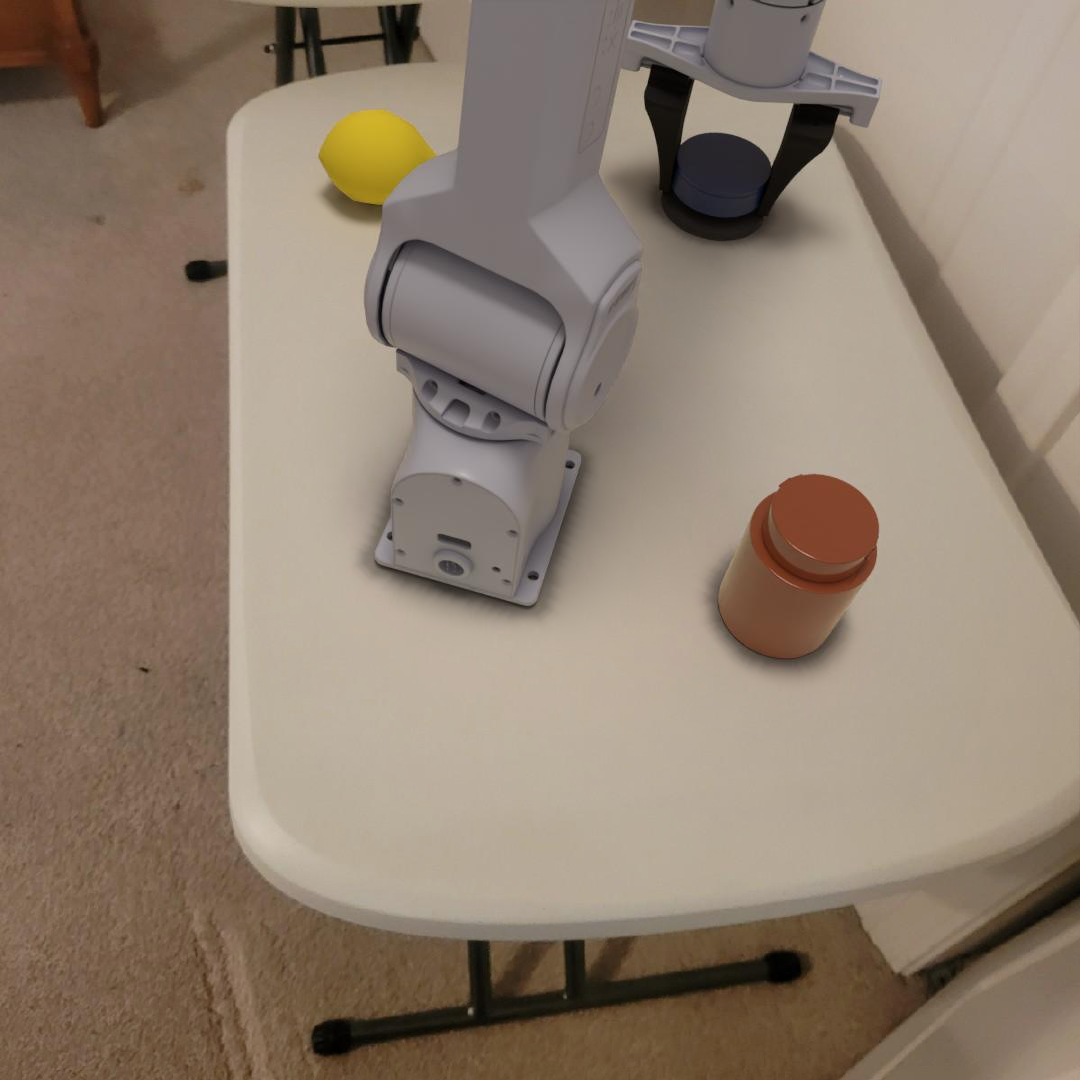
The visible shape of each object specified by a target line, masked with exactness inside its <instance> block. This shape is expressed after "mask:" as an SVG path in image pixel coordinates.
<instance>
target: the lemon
mask: <svg viewBox="0 0 1080 1080" xmlns="http://www.w3.org/2000/svg"><path fill="white" fill-rule="evenodd" d="M436 156H438V155H437V154H436V153H435V151H434V149H432V147H431V146H430V145H429V144H428V142H427V141H426V140H425V139H424V137H423V136H422V135H421V134H420V132H419V131H418V129H417V128H416V127H415V126H414V124H412V123H411V122H409V121H407V120H406V119H404V118H403V117H401V116H400V115H399V116H398V115H397V114H395V113H392V112H390V111H388V110H386V109H384V108H380V109H366V110H365V109H364V110H360V111H355V112H354V111H353V112H350V113H349V114H347V115H346V116H345V117H343V118H341V119H340V120H339V121H337V122H335V124H334V126H333V127H332V128H331V129H330V131H329V132H328V133H327V134H326V136H325V139H324V140H323V142H322V144H321V147H320V149H319V152H318V159H319V162H320V164H321V166H322V168H324V171H325V173H326V174H327V176H328V178H329V179H330V180H331V182H332V183H333V184H334V185H335V187H336V188H337V189H338V190H339V191H340V192H342V193H343V194H344V195H346V196H347V197H348V198H350V199H351V200H352V201H355V202H358V203H364V204H371V205H378V206H383V203H384V202H385V200H386V199H387V198H388V196H389V195H390V194H391V193H392V191H393V190H394V189H395V188H396V186H397V185H398V184H399V183H400V182H401V181H402V180H403V178H404V177H405V176H407V175H408V174H409V173H410V172H411V171H413V170H414V169H415V168H416V167H418V166H419V165H421V164H423V163H424V162H426V161H428V160H430V159H432V158H434V157H436Z"/></svg>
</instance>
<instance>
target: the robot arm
mask: <svg viewBox="0 0 1080 1080" xmlns="http://www.w3.org/2000/svg"><path fill="white" fill-rule="evenodd" d="M826 3H827V0H715V1H714V5H713V9H712V13H711V18H710V21H709V26H707V25H706V26H705V25H704V26H703V25H685V24H683V25H681V24H662V23H654V22H653V23H652V22H646V21H641V20H637V19H632V17H633V13H634V7H635V4H636V0H471V4H470V15H469V26H468V36H467V47H466V57H465V67H464V77H463V79H464V80H463V87H462V88H463V90H462V99H461V111H460V121H459V131H458V132H459V133H458V141H457V143H458V144H457V148H456V149H453V150H449V151H448V152H445V153H442V154H439V155H437V156H436V157H434V158H432V159H430V160H428V161H426V162H424V163H423V164H421V165H419V166H418V167H416V168H415V169H414V170H413V171H411V172H410V173H409V174H408V175H407V176H405V177H404V178H403V180H402V181H401V182H400V183H399V184H398V185H397V186H396V188H395V189H394V190H393V191H392V193H391V194H390V195H389V196H388V198H387V199H386V200H385V202H384V203H383V205H382V210H381V212H382V213H381V215H382V216H381V223H380V229H379V235H378V240H377V244H376V248H375V251H374V253H373V255H372V258H371V260H370V263H369V266H368V270H367V273H366V277H365V283H364V288H363V289H364V290H363V307H364V315H365V322H366V326H367V329H368V330H367V331H368V332H369V334H370V336H371V337H372V338H373V339H374V341H376V342H377V343H378V344H381V345H383V346H385V347H389V348H393V349H394V348H395V362H396V363H395V365H396V371H397V372H398V373H399V374H401V375H403V376H404V377H405V378H406V379H407V380H408V381H409V382H410V383H411V406H412V407H411V409H412V412H411V413H412V415H411V416H412V423H411V424H412V425H411V433H410V437H409V441H408V445H407V447H406V451H405V452H404V453H405V454H404V455H403V459H402V461H401V463H400V466H399V467H398V469H397V472H396V475H395V477H394V478H393V482H392V483H391V484H392V485H391V489H390V497H389V498H390V499H389V500H390V502H389V503H390V516H389V518H388V521H387V523H386V525H385V528H384V530H383V532H382V534H381V536H380V539H379V541H378V543H377V546H376V548H375V551H374V559H375V562H377V564H378V565H381V566H383V567H387V568H391V569H394V570H398V571H401V572H405V573H408V574H411V575H415V576H419V577H422V578H426V579H429V580H433V581H435V582H436V581H437V582H440V583H443V584H447V585H450V586H454V587H457V588H461V589H465V590H468V591H471V592H475V593H479V594H481V595H486V596H489V597H492V598H496V599H500V600H503V601H507V602H510V603H514V604H517V605H520V606H524V607H525V606H527V607H530V606H533V605H534V604H536V602H537V600H538V599H539V595H540V592H541V589H542V585H543V583H544V581H545V577H546V574H547V570H548V569H549V568H548V567H549V565H550V561H551V558H552V555H553V552H554V548H555V546H556V542H557V540H558V536H559V533H560V530H561V527H562V524H563V521H564V517H565V515H566V511H567V509H568V505H569V502H570V499H571V496H572V493H573V490H574V486H575V483H576V480H577V477H578V474H579V471H580V468H581V465H582V464H581V463H582V455H581V454H580V453H579V452H578V451H577V450H573V449H569V447H570V442H571V441H570V440H571V434H572V431H573V430H574V429H576V428H579V427H582V426H583V425H584V426H585V424H587V423H588V422H589V421H590V420H591V419H592V418H593V417H594V416H595V415H596V414H597V413H598V411H599V410H600V408H601V407H602V405H603V403H604V402H605V401H606V399H607V398H608V396H609V394H610V393H611V391H612V389H613V387H614V385H615V383H616V382H617V380H618V378H619V376H620V374H621V371H622V369H623V367H624V365H625V363H626V361H627V358H628V356H629V353H630V351H631V348H632V345H633V342H634V339H635V336H636V332H637V328H638V323H639V317H640V315H639V312H640V311H639V305H638V296H639V289H640V288H639V287H640V282H641V278H642V272H643V265H642V258H643V255H644V251H645V248H644V246H643V244H642V243H643V242H641V240H640V238H639V236H638V235H637V233H636V232H635V230H634V228H633V226H632V225H631V224H630V222H629V220H628V219H627V217H626V216H625V214H624V213H623V211H622V210H621V209H620V207H619V206H618V204H617V202H616V201H615V200H614V198H613V196H612V195H611V194H610V192H609V190H608V189H607V187H606V185H605V184H604V182H603V180H602V178H601V175H600V169H601V164H602V159H603V154H604V150H605V146H606V145H605V144H606V140H607V135H608V131H609V126H610V120H611V116H612V112H613V107H614V103H615V97H616V92H617V90H618V89H617V88H618V83H619V79H620V75H621V70H626V71H630V72H633V73H634V72H635V73H637V72H639V71H640V70H641V68H643V69H649V75H648V79H647V83H646V86H645V88H644V92H643V103H644V104H643V105H644V110H645V112H646V114H647V116H648V119H649V122H650V125H651V128H652V131H653V135H654V140H655V144H656V151H657V158H658V169H659V172H658V173H659V175H658V176H659V178H658V179H659V180H658V191H660V192H662V191H665V192H669V190H670V187H671V184H672V183H671V182H672V178H673V172H674V166H675V161H676V155H677V151H678V149H679V147H680V146H681V144H682V139H683V133H684V132H683V131H684V126H685V120H686V117H687V113H688V109H689V104H690V100H691V97H692V92H693V88H694V84H695V81H698V82H700V83H702V84H704V85H707V86H708V87H710V88H712V89H715V90H717V91H719V92H721V93H723V94H725V95H727V96H730V97H733V98H734V99H735V98H736V99H738V100H743V101H747V102H753V103H770V104H771V103H773V104H774V103H775V104H792V107H791V110H790V114H789V117H788V120H787V123H786V126H785V130H784V133H783V136H782V139H781V143H780V145H779V147H778V151H777V153H776V155H775V158H774V160H773V162H772V164H771V176H770V179H769V181H768V184H767V187H766V190H765V192H764V195H763V197H762V200H761V203H760V205H759V207H758V212H757V215H761V216H765V218H766V217H769V214H770V212H771V211H772V209H773V207H774V205H775V204H776V202H777V200H778V199H779V198H780V196H781V195H782V193H783V192H784V190H785V189H786V188H787V187H788V185H789V184H790V183H791V182H792V181H793V179H794V178H795V177H796V176H797V175H798V174H799V173H800V172H801V171H802V170H803V169H804V168H805V167H806V166H807V165H808V164H809V163H811V162H812V161H813V160H814V159H815V158H817V157H818V156H819V155H820V154H822V153H823V152H824V151H825V150H826V149H827V147H828V146H829V144H830V143H831V141H832V139H833V136H834V133H835V130H836V129H835V128H836V123H837V121H838V117H839V116H844V117H847V118H849V119H848V121H849V123H850V124H851V125H853V126H856V127H862V128H865V129H867V128H869V125H870V123H871V121H872V118H873V115H874V114H875V110H876V108H877V105H878V103H879V101H880V98H881V91H882V85H883V84H882V83H883V79H882V78H879V77H876V76H873V75H870V74H865V73H863V72H860V71H857V70H855V69H852V68H850V67H848V66H846V65H843V64H842V63H839V62H837V61H834V60H832V59H830V58H828V57H825V56H824V55H821V54H819V53H817V52H814V51H813V50H811V49H812V46H813V43H814V39H815V36H816V33H817V31H818V27H819V25H820V21H821V18H822V15H823V13H824V9H825V6H826ZM567 466H570V467H572V468H569V467H567ZM390 537H391V538H392V539H389V538H390ZM530 576H535V578H537V579H530V578H529V577H530Z"/></svg>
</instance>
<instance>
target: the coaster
mask: <svg viewBox="0 0 1080 1080" xmlns="http://www.w3.org/2000/svg"><path fill="white" fill-rule="evenodd" d="M660 203H661V207H662V210H663V211H664V213H665V215H666V216H667V217H668V219H669V220H670V221H671V222H672V223H673V224H675V225H676V226H677V227H678V228H680V229H682V230H683V231H685V232H687V233H689V234H691V235H694V236H696V237H700V238H703V239H707V240H713V241H733V240H740V239H743V238H745V237H747V236H750V235H751V234H754V233H755V232H756V231H758V229H759V228H761V226H762V225H763V223H764V221H765V218H766V217H765V216H761V215H757V212H758V207H759V206H758V207H757V208H756V209H755V210H754V211H752V212H750V213H748V214H746V215H743V216H738V217H730V218H723V217H714V216H710V215H706V214H703V213H700V212H698V211H695V210H694V209H692V208H690V207H688V206H687V205H686V204H684V203H683V202H682V201H681V200H680V199H679V198H678V197H677V195H676V194H675V192H674V190H673V187H672V184H671V187H670V190H669V192H665V191H661V193H660Z"/></svg>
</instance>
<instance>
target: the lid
mask: <svg viewBox="0 0 1080 1080" xmlns="http://www.w3.org/2000/svg"><path fill="white" fill-rule="evenodd" d="M771 167H772V163H771V161H770V159H769V157H768V155H767V154H766V153H765V151H764V150H763V149H761V148H760V146H758V145H757V144H755V143H753V142H752V141H750V140H748V139H746V138H744V137H742V136H739V135H735V134H731V133H725V132H704V133H699V134H695V135H693V136H691V137H689V138H687V139H686V140H685V141H683V142H681V146H680V147H679V149H678V151H677V155H676V161H675V166H674V172H673V178H672V182H671V183H672V187H673V190H674V192H675V194H676V195H677V197H678V198H679V199H680V200H681V201H682V202H683V203H684V204H686V205H687V206H688V207H690V208H692V209H694V210H695V211H698V212H700V213H703V214H706V215H710V216H714V217H723V218H730V217H738V216H743V215H746V214H748V213H750V212H752V211H754V210H755V209H756V208H757V207H758V206H759V205H760V203H761V200H762V197H763V195H764V192H765V190H766V187H767V184H768V181H769V179H770V176H771Z"/></svg>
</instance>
